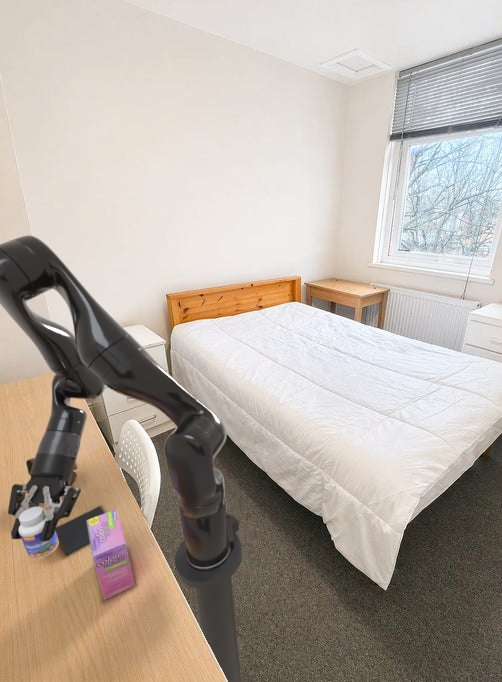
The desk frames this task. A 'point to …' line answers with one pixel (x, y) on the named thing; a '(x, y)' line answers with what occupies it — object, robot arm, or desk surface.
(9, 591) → the desk surface
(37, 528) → the pill bottle
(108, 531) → the box
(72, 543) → the pad
